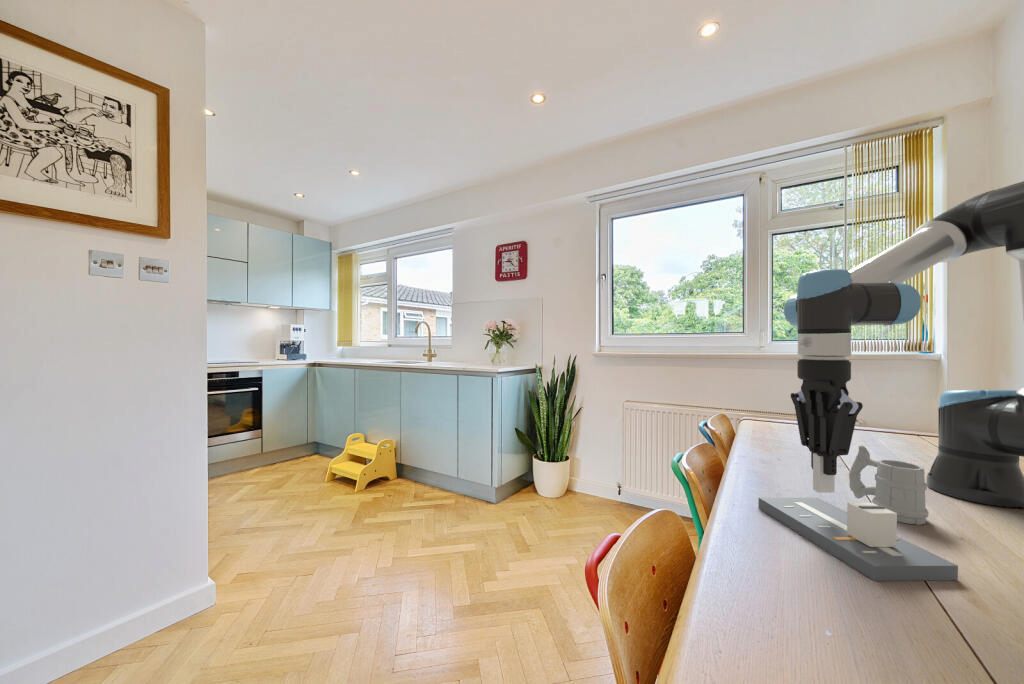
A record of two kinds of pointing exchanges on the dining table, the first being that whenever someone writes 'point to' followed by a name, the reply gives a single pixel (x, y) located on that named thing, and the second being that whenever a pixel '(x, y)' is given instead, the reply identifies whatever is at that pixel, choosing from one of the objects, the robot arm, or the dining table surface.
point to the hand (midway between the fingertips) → (823, 490)
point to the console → (857, 542)
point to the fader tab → (872, 524)
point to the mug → (892, 486)
